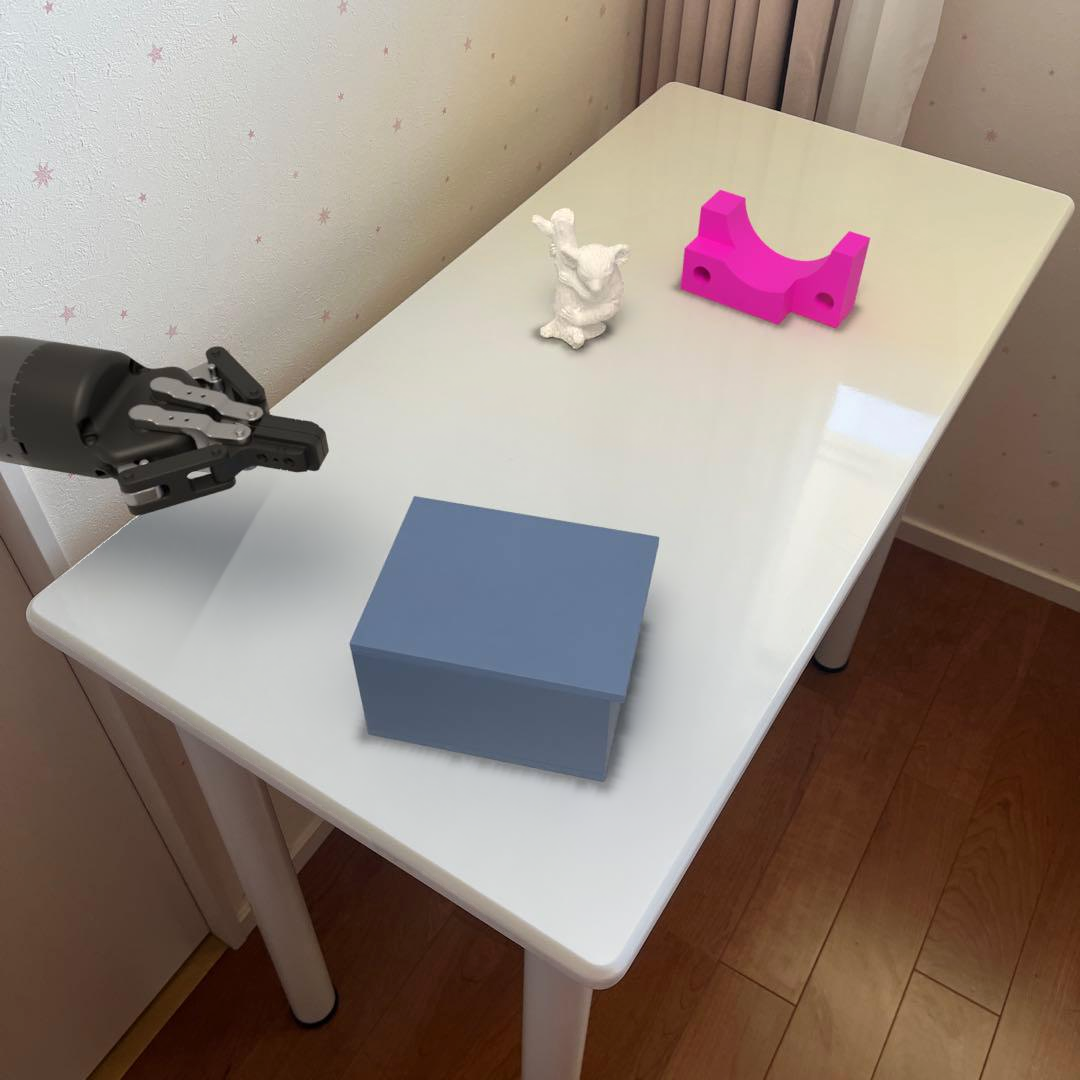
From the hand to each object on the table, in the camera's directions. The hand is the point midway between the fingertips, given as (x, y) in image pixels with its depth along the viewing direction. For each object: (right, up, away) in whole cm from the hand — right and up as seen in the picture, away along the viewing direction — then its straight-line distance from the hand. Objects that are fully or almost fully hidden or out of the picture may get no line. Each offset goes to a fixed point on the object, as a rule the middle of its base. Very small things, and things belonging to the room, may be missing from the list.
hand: (322, 450), depth 62 cm
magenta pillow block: (+34, +18, +42) cm, 57 cm away
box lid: (+11, -9, +6) cm, 15 cm away
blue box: (+10, -14, +12) cm, 21 cm away
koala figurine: (+16, +14, +39) cm, 44 cm away
